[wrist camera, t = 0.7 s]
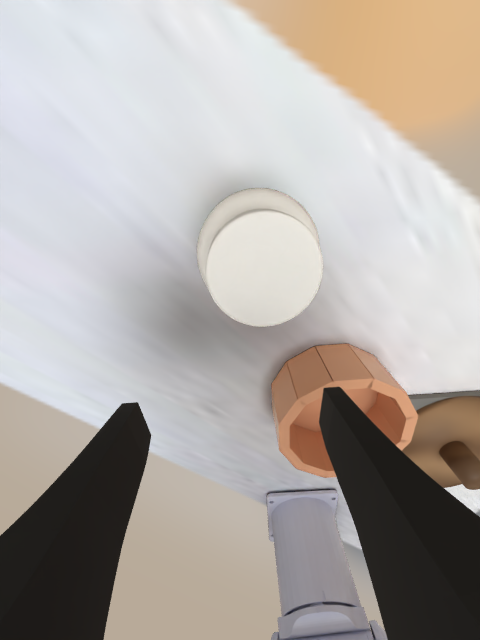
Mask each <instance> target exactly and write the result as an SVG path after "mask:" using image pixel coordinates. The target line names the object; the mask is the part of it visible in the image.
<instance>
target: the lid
mask: <svg viewBox="0 0 480 640" xmlns="http://www.w3.org/2000/svg"><path fill="white" fill-rule="evenodd" d="M416 412H417V414H418V419H417V423H416V426H415V430H414V433H413V436H412V440H411V442H410V443H409V444H408V445H407V446H406V447H405V448H404V449H403V450H402V452H403V453H404V454H406V455H407V456H408V457H409V458H410V459H411V460H412V461H413V462H414V463H415V464H416V465H417V466H419V467H420V468H421V469H422V470H423V471H424V472H425V473H426V474H428V475H429V476H430V477H431V478H432V479H433V480H435V481H436V482H437V483H438V484H439V485H441V486H442V487H443V488H446V487H452V486H456V485H460V484H463V485H464V486H465V487H466V488H467V489H471V490H476V489H480V396H459V397H452V398H447V399H443V400H440V401H437V402H434V403H431V404H429V405H427V406H424V407H422V408H420V409H419V410H417V411H416Z"/></svg>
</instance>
